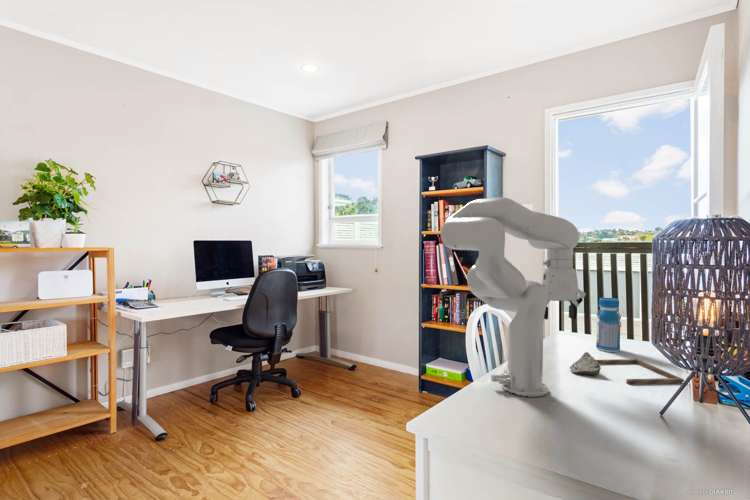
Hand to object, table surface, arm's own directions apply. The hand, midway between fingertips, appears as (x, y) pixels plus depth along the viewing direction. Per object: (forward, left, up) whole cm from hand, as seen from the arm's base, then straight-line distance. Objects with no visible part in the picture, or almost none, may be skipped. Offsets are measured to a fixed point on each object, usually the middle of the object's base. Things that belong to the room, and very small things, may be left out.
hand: (558, 318), depth 130 cm
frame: (+25, 0, -18) cm, 31 cm away
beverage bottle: (+34, +26, -18) cm, 47 cm away
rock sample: (+10, +1, -18) cm, 21 cm away
